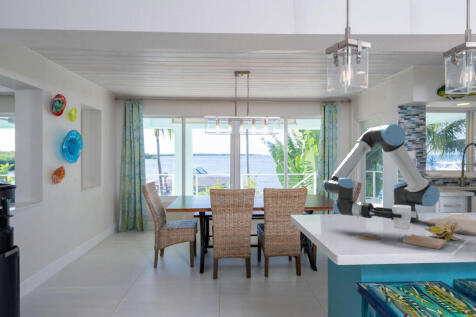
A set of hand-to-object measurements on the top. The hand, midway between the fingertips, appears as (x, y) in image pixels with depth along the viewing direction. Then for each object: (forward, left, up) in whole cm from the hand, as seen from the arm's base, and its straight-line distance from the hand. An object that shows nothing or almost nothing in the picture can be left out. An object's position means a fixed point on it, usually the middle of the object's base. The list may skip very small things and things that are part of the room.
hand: (412, 215), depth 142 cm
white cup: (0, -5, -6) cm, 8 cm away
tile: (0, -2, -11) cm, 11 cm away
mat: (-1, +2, -12) cm, 12 cm away
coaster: (+7, -17, -12) cm, 22 cm away
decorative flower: (-18, +7, -12) cm, 23 cm away
